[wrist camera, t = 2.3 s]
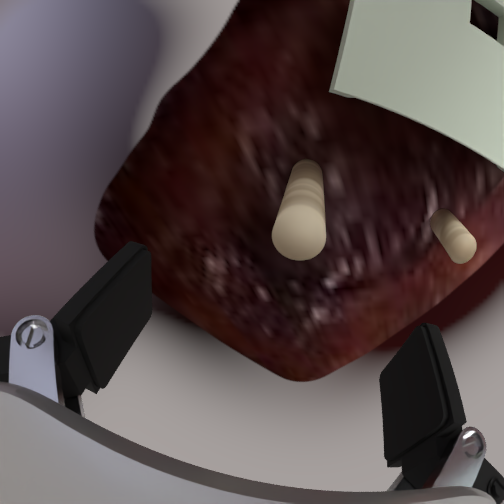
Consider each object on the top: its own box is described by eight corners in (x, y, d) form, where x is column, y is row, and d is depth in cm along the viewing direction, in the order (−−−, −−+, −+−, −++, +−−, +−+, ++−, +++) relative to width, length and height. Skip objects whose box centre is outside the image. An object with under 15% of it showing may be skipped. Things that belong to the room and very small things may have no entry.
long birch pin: (295, 155, 22) (279, 205, 13) (326, 164, 22) (333, 221, 12) (288, 184, 23) (266, 252, 14) (317, 192, 23) (316, 266, 14)
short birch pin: (437, 204, 21) (459, 230, 17) (457, 213, 21) (481, 240, 17) (426, 229, 22) (444, 258, 18) (446, 237, 22) (466, 267, 18)
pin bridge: (366, -87, 8) (374, -120, 3) (533, 5, 7) (567, 0, 2) (328, 91, 19) (333, 89, 14) (506, 173, 17) (543, 198, 12)
